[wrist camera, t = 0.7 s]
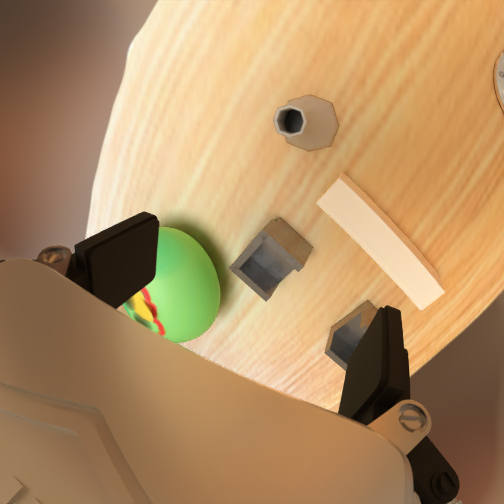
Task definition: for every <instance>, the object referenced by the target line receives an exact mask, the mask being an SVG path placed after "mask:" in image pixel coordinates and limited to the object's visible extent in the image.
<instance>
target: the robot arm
mask: <svg viewBox="0 0 504 504" xmlns="http://www.w3.org/2000/svg"><path fill="white" fill-rule="evenodd" d="M499 74H500V76H499ZM494 84H495V90H496V94H497V98H498V100H499V103H500V106H501V108H502V110H503V112H504V51H503V52H502V53H501V54H500V56H499V57H498V59H497V61H496V63H495V68H494ZM158 235H159V221H158V220H157V217H156V216H155V215H153V214H150V213H147V212H142V213H139V214H137V215H135V216H133V217H131V218H129V219H126V220H124V221H122V222H120V223H118V224H116V225H114V226H112V227H110V228H108V229H106V230H103V231H101V232H99V233H97V234H95V235H93V236H91V237H89V238H87V239H86V240H84V241H82V242H80V243H78V244H76V245H75V253H74V254H72V253H71V250H70V249H69V248H67V247H65V246H60V245H57V246H50V247H47V248H45V249H43V250H42V251H41V252H40V253H39V255H38V257H37V259H36V260H29V259H24V258H11V259H8V260H1V261H0V504H462V502H461V501H459V502H457V501H456V498H455V497H456V495H457V494H458V490H459V479H458V476H457V474H456V472H455V471H454V470H453V468H452V467H451V466H450V464H449V463H448V462H447V461H446V459H445V458H444V457H443V456H442V454H441V453H440V452H439V451H438V449H437V448H436V447H435V446H434V444H433V443H432V442H431V441H430V439H429V438H428V437H427V436H426V435H427V434H428V432H429V431H430V428H431V418H430V415H429V413H428V411H427V410H426V409H425V407H423V406H422V405H421V404H420V403H418V402H416V401H413V400H410V376H409V360H408V351H407V350H406V349H405V348H404V341H403V330H402V320H401V311H400V310H398V309H396V308H393V307H390V306H388V305H387V306H385V307H384V308H382V307H380V308H379V309H378V311H377V313H376V315H375V316H374V318H373V320H372V322H371V323H370V325H369V327H368V329H367V330H366V332H365V334H364V335H363V337H362V339H361V340H360V342H359V344H358V345H357V347H356V348H355V350H354V352H353V353H352V355H351V356H350V358H349V361H348V364H347V369H346V375H345V381H344V386H343V391H342V397H341V402H340V406H339V411H338V414H337V413H335V412H332V411H329V410H327V409H324V408H322V407H319V406H317V405H314V404H311V403H309V402H306V401H303V400H300V399H298V398H295V397H293V396H290V395H288V394H285V393H283V392H280V391H278V390H275V389H273V388H270V387H268V386H266V385H263V384H261V383H259V382H256V381H254V380H252V379H249V378H247V377H245V376H243V375H240V374H238V373H236V372H234V371H231V370H229V369H227V368H225V367H223V366H221V365H219V364H217V363H215V362H212V361H210V360H208V359H206V358H204V357H202V356H200V355H198V354H196V353H194V352H192V351H190V350H188V349H186V348H184V347H182V346H180V345H179V344H177V343H175V342H173V341H171V340H169V339H167V338H165V337H163V336H162V335H160V334H158V333H156V332H154V331H153V330H151V329H149V328H147V327H145V326H144V325H142V324H140V323H138V322H137V321H135V320H133V319H132V318H130V317H128V316H126V315H125V314H123V313H121V312H120V311H118V310H116V309H117V308H119V307H120V306H121V305H122V304H124V303H125V302H126V301H127V300H129V299H130V298H131V297H132V296H134V295H135V294H136V293H138V292H139V291H140V290H141V289H143V288H144V287H145V286H147V285H148V284H149V283H150V282H152V281H153V279H154V278H155V275H156V263H157V248H158Z"/></svg>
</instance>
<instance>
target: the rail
mask: <svg viewBox="0 0 504 504" xmlns="http://www.w3.org/2000/svg"><path fill="white" fill-rule="evenodd" d="M316 204H317V205H318V206H319V207H320V208H322V209H323V210H324V211H325V212H326V213H327V214H328V215H329V216H330V217H331V218H332V219H333V220H334V221H335V222H336V223H337V224H338V225H339V226H340V227H341V228H342V229H344V230H345V231H346V232H347V233H348V234H349V235H350V236H351V237H352V238H353V239H354V240H355V241H356V242H357V243H358V244H359V245H360V246H361V247H362V248H363V249H364V250H365V251H366V252H367V253H368V254H369V255H370V256H371V258H372V259H373V260H374V261H375V262H376V263H377V264H378V265H379V266H380V267H381V268H382V269H383V270H384V271H385V272H386V273H387V274H388V275H389V276H390V277H391V278H392V280H393V281H394V282H395V283H396V284H397V285H398V286H399V287H400V288H401V289H402V290H403V291H404V293H405V294H406V295H407V296H408V297H409V298H410V299H411V300H412V301H413V303H414V304H415V305H416V306H417V307H418V308H419V309H420V311H422V310H423V309H424V308H426V307H427V306H428V305H429V304H431V303H432V302H433V301H435V300H436V299H437V298H438V297H440V296H441V295H442V294H443V293H445V291H444V288H443V285H442V282H441V279H440V277H439V274H438V273H437V272H436V271H435V269H434V268H433V267H432V266H431V264H430V263H429V262H428V261H427V260H426V258H425V257H424V256H423V255H422V254H421V253H420V251H419V250H418V249H417V248H416V247H415V246H414V244H413V243H412V242H411V241H410V240H409V239H408V238H407V237H406V235H405V234H404V233H403V232H402V231H401V230H400V229H399V228H398V227H397V226H396V225H395V223H394V222H393V221H392V220H391V219H390V218H389V217H388V216H387V215H386V214H385V213H384V212H383V211H382V210H381V209H380V208H379V207H378V206H377V205H376V204H375V203H374V201H373V200H372V199H371V198H370V197H369V196H368V195H367V194H366V193H365V192H364V191H362V190H361V189H360V188H359V187H358V186H357V185H356V184H355V183H354V182H353V181H352V180H351V179H350V178H349V177H348V176H347V175H346V174H345V173H344V172H342V174H341V175H340V176H339V177H338V178H337V179H336V180H335V181H334V182H333V183H332V184H331V185H330V186H329V188H328V189H327V190H326V191H325V192H324V193H323V194H322V195H321V197H320V198H319V200H318V201H317V202H316Z"/></svg>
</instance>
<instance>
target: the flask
mask: <svg viewBox="0 0 504 504" xmlns="http://www.w3.org/2000/svg"><path fill="white" fill-rule="evenodd" d="M273 122H274V125H275V128H276V131H277V133H279V134H281V135H284V136H286V140H287V143H290V144H292V145H295V146H297V147H299V148H302V149H304V150H307V151H312V150H316V149H320V148H325V147H329V146H331V144H332V141H333V139H334V136H335V134H336V131H337V129H338V126H339V124H338V120H337V117H336V114H335V110H334V107H333V104H332V103H331V102H328V101H326V100H323V99H321V98H318V97H315V96H313V95H307V96H303V97H299V98H296V99H292V100H289V101H288V103H287V105H286V106H283V107H280V108H277V111H276V114H275V116H274V119H273Z"/></svg>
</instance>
